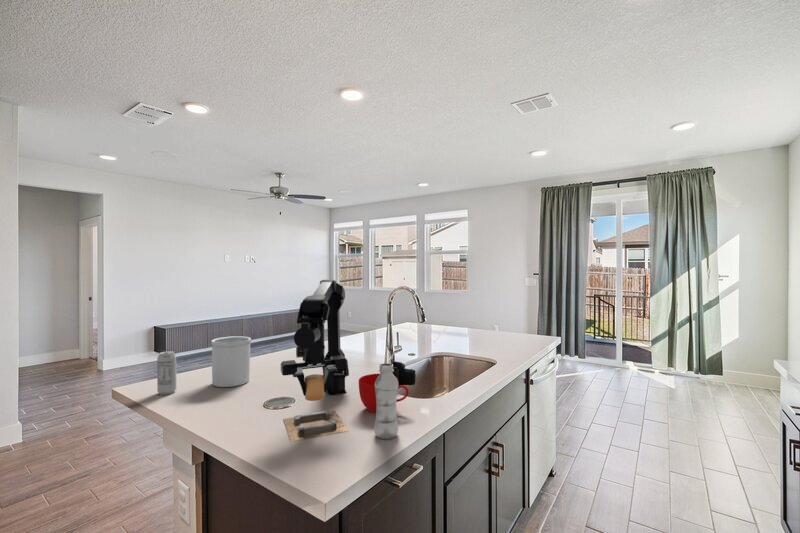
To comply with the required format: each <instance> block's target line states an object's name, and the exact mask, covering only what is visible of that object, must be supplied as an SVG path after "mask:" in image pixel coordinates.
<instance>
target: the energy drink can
mask: <svg viewBox="0 0 800 533" xmlns="http://www.w3.org/2000/svg"><path fill="white" fill-rule="evenodd" d="M156 359H157V361H156V363H157V366H156V367H157V368H156V369H157V370H156V371H157V372H156V374H157V376H156V378H157V390H156V391H157V393H158V394H159V395H161V396H165V395H166V396H167V395H171V394H174V393H175V391H176V390H177V355H176V353H175V351H174V350H173V351H172V350H169V351H168V350H167V351H166V350H165V351H162V352H159V353H158V356H157V358H156Z"/></svg>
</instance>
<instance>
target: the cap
mask: <svg viewBox="0 0 800 533" xmlns="http://www.w3.org/2000/svg"><path fill="white" fill-rule="evenodd" d="M304 378H305V389H306V395H305V396H304V399H305V400H306V401H311V402H315V401H321V400H323V399H324V398H325V393H324V375H323V374H318V373H317V374H308V375H306V376H304Z"/></svg>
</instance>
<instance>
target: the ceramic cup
mask: <svg viewBox="0 0 800 533" xmlns="http://www.w3.org/2000/svg"><path fill="white" fill-rule="evenodd" d="M379 375H380V373H371V374H366V375H363V376H361V377H360V378H359V379H358V391H359V397H360V400H361V402H362V405H363V406H364V407H365V408H366V409H367V410H368V412H371V413H374V414H376V410H377V403H376V392H375V381H376V379H377V377H378V376H379ZM395 377H396V376H395ZM396 379H397V380H398V378H397V377H396ZM399 389H404V390H405V395H404V396H402V397H401V398H397V401H396V403H398V402H402V401H404V400H405V399H406V398H407V397H408V395H409V387H407V385H400V386H398V390H399Z"/></svg>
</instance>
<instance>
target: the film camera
mask: <svg viewBox="0 0 800 533" xmlns="http://www.w3.org/2000/svg"><path fill="white" fill-rule="evenodd" d="M391 364H393V372H392V373H393V374H394V376H396V377H397V378H398V386H400V385H405V386H415V384H416V378H417V377H416V376H417V375H416V370H415V369H412V368H406V365H405V364H404V363H403V362H401V361H396V360H395V361H394V360H393V361H392V362H391Z"/></svg>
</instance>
